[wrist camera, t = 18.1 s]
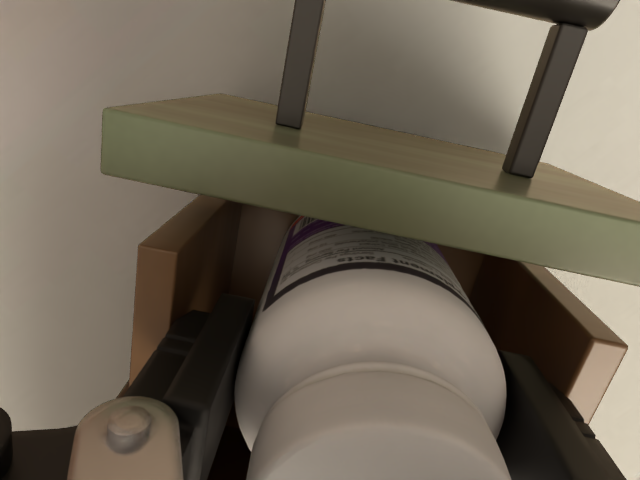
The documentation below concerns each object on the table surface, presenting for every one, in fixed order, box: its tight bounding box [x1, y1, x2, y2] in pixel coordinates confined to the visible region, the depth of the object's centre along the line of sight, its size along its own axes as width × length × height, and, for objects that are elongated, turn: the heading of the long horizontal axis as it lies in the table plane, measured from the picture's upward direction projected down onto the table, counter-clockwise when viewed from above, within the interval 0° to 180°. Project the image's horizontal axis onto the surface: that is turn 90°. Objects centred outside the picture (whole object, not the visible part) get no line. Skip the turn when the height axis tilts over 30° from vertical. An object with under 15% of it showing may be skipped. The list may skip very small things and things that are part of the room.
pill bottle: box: [234, 216, 511, 480], centre depth 11 cm, size 5×5×10 cm
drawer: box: [101, 0, 640, 480], centre depth 13 cm, size 18×11×8 cm, turn 168°
